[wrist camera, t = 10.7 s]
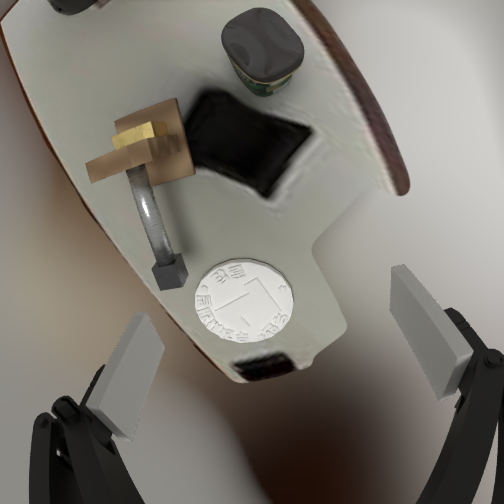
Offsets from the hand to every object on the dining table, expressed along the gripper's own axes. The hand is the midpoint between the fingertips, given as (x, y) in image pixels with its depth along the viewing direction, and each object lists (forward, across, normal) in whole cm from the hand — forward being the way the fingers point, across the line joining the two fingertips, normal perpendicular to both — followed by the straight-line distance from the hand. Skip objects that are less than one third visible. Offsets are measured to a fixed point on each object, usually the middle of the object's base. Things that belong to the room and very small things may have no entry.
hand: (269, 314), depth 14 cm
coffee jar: (+37, +4, +19) cm, 42 cm away
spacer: (+32, -17, +13) cm, 39 cm away
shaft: (+29, -17, 0) cm, 33 cm away
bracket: (+37, -17, +10) cm, 42 cm away
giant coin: (+37, -9, -23) cm, 45 cm away
